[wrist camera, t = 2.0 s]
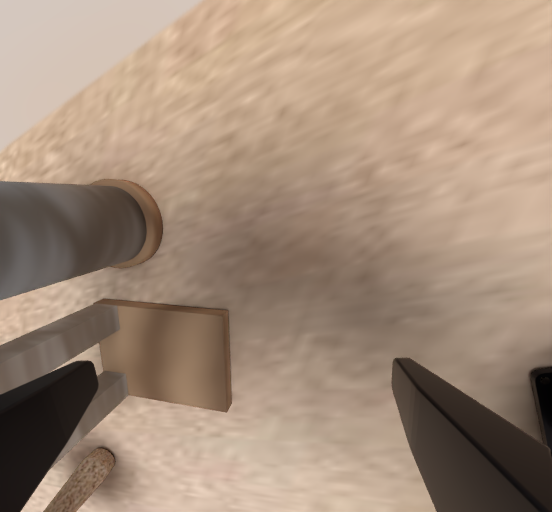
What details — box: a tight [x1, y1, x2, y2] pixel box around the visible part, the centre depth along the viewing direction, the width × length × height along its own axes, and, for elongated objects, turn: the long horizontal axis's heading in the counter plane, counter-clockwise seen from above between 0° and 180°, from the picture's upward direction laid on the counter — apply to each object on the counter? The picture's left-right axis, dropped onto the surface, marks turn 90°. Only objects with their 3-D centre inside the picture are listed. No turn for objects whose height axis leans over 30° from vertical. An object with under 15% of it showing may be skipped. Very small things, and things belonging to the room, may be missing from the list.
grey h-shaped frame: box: [0, 299, 232, 470], centre depth 18 cm, size 11×8×10 cm
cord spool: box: [0, 179, 163, 300], centre depth 15 cm, size 6×6×13 cm
